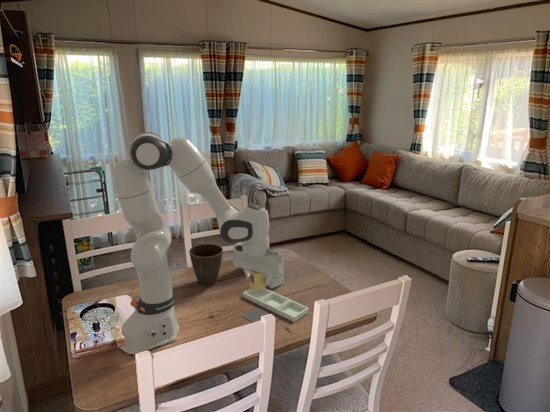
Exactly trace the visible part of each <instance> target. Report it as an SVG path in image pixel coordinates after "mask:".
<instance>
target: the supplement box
mask: <svg viewBox="0 0 550 412" xmlns="http://www.w3.org/2000/svg"><path fill="white" fill-rule="evenodd" d="M282 263H283V273H282V274H281V275H279V276H278V277H277V276H273V275H272V276H271V277H270V279H269V284H266V287H268V288H270V289H275V288H277V287H280V286H283V285H284V284H285V283H284V281H285V279H284V276H285V275H284V274H285V273H284V272H285V260H284V259H283V260H282ZM267 277H268V276H266V278H267Z"/></svg>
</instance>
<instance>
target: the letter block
mask: <svg viewBox="0 0 550 412" xmlns="http://www.w3.org/2000/svg"><path fill="white" fill-rule="evenodd" d="M249 272H250V280H249V287H250V289H251V288H252V289H253V290H254V291H258V290H262V289H267V288H266V287H267V286H266V284H264V279H265V278H266V274H264V273H260V272H256V271H252V270H249Z"/></svg>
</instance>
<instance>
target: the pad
mask: <svg viewBox="0 0 550 412" xmlns="http://www.w3.org/2000/svg"><path fill="white" fill-rule="evenodd" d="M266 314H271V313H270V312H268V311H266V310H264V309H262V308H260V307H255V308H254V309H252V310H250V311H248V312H246V313H244V314H242V315H241V318H243V319H245V320H247V321H248V322H251V323H253V322H255V321H258V320H260V317H261V316H262V315H266Z"/></svg>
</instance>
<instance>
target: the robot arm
mask: <svg viewBox="0 0 550 412" xmlns="http://www.w3.org/2000/svg"><path fill="white" fill-rule="evenodd" d="M129 148H130V149H129V157H128V158H126V159H123V160H121V161H118V162H116V164H115V165H113V167H112V170H111V173H112V174H111V175H112V181H113V186H114V190H115V194H116V197H117V199H118V200H117V201H118V204H119V206H120V209H121V212H122V215H123V217H124V219H125V222H127V223H128V224H129V225H130V226H131V228H132V229H133V231H134V233H135V235H136V241H135V242H134V243H133V245H132V247H131V253H130V263H131V264H132V266H133V268H134V269H135V272H136V275H137V279H138V287H139V288H138V289H139V297H138V301H136V300H135V299H133V300H131V301H130V306H131V307H132V308H136V309H135V310H134V311H133V312H132V313H131V314H130V316H129V317H128V318H126V319H125V321H124V322H123V323H122V325H121V333H122V335H123V336H124V337H125V343H126V346H123V347H120V348H121V349H122V350H124V351H125V352H128V353H135V354H136V351H137V353H138V352H142V351H146V350H149V349H152V348H154V347H157V346H160V345H162V346H164V344H165V345H168V344H170V343H172V342H175V341H176V340H177V335H178V333H179V331H180V325H179V322H178V319H177V315H176V312H175V296H174V292H173V285H172V284H173V283H172V282H173V281H172V274H171V272H170V269H169V264H168V252H169V249H170V247H171V244H172V233H171V229H170V228H169V227H168V226H167V224H166V222H165V219H164V218H163V216H162V214H161V212H160V210H159V207H158V204H157V202H156V198H155V195H154V191H153V189H152V186H151V183H150V179H149V171H153V170H156V169H160V168H163V167H169V168H171V170H172V171H173V172H174V173H175V175H176V177H177V178H178V180H179V181H180V182H181V184H183V186H184V187H185V188H186V189H187V190H188V191H190V193H192V194H198V195H201V197H203V199H204V200H205V201H206V202H207V204H208V205H209V207H211V209H212V211H213V212H214V213H215V217H216V222H217V226H218V229H219V230H218V231H219V233H220V234H219V235H220V237H221V238H222V240H224V242H226V243H229V244H234V245H233V252H232V264H233V266H234V267H235V268H240V269H241V268H243V269H242V271H243V272H244V274H245V278H246V280H249V281H250V270H252V271H256V272H260V273H264V274H266V276H268V277H267V278H265V279H264V284H269V279H270V277H271V276H272V275H273V276H277V277H278V276H279V275H281V274H282V273H283V263H282V260H284V259H283V255H282V254H281V253H280V252H279V251H278V250H272V249H270V237H269V231H270V218H269V217H270V216H269V211H268V209H267V208H266V207H265V206H263V205H261V204H257V203H256V204H255V203H250V204H247V205H246V206H245V207H244V208H241V210H240V209H238V208H237V207H235V206H234V205H233V204H231V203H230V202H229V201H228V199H227V198H226V197H225V196H224V194H223V193H222V191H221V190H220V188H219V186H218V185H217V182H216V181H217V180H216V178H215V174H214V172H213V170H212V168H211V166H210V164H209V163H208V161H207V159H206V158H205V157H204V155H203V154H202V152H201V151H200V150H199V149H198V147H197V146H196V145H195V144H194V143H193V142H192V141H191V140H190V139H188V138H187V137H181V136H180V137H177V138H176V137H175V138H174V139H172V140H171V141H165V140H163V138H162V137H161V136H160V135H158V134H157V133H154V132H152V131H145V132H142V133H139V134H138V135H137V136H135V137H134V138H133V140H132V141H131V143H130V147H129ZM121 333H120V334H121ZM167 343H168V344H167ZM160 347H161V346H160ZM157 348H158V347H157ZM154 349H155V348H154ZM129 350H132V351H129ZM152 350H153V349H152ZM149 351H150V350H149Z"/></svg>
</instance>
